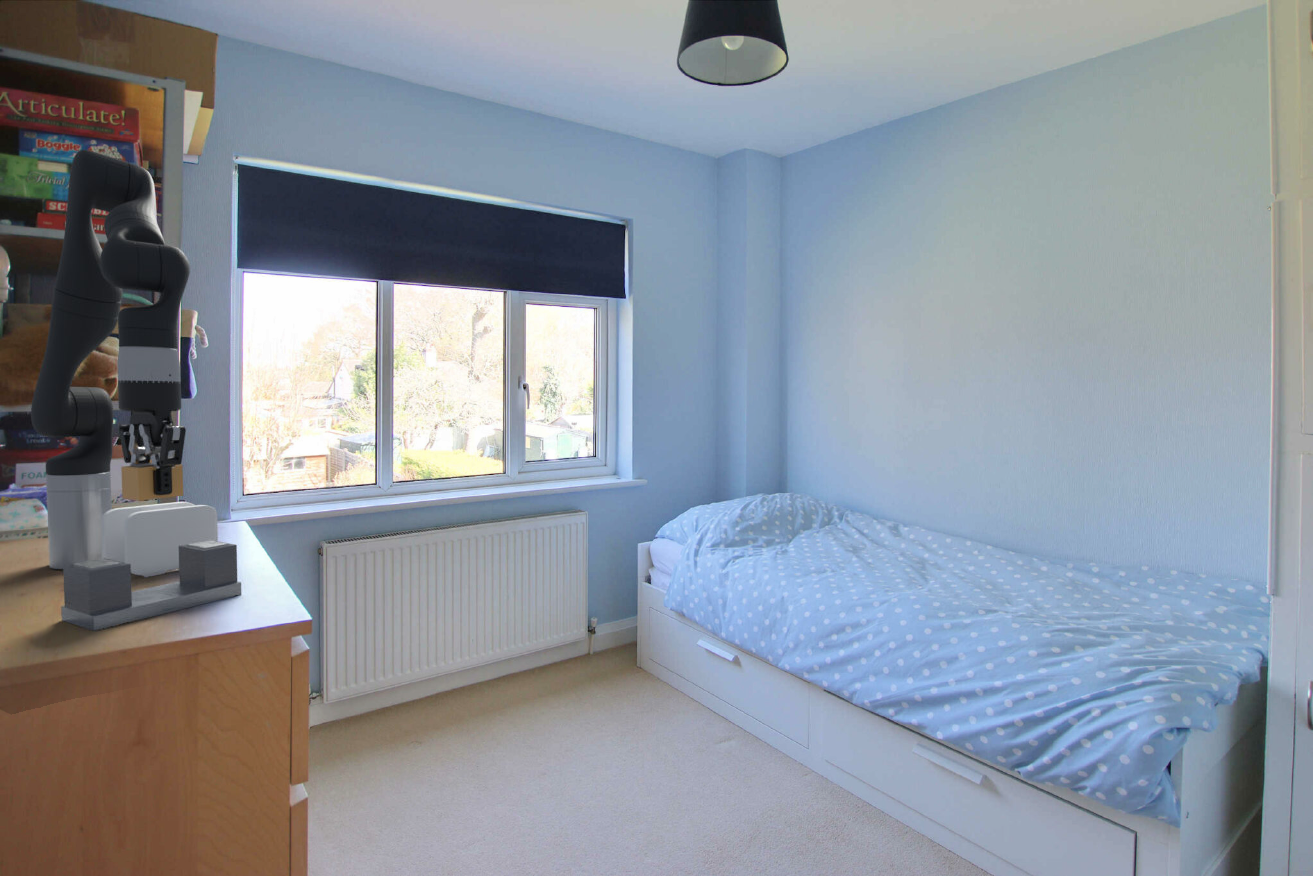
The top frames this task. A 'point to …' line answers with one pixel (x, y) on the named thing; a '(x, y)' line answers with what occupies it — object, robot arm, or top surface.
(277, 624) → the top surface
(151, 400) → the robot arm
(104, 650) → the top surface
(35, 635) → the top surface
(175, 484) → the orange module
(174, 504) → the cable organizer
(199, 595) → the rail plate
